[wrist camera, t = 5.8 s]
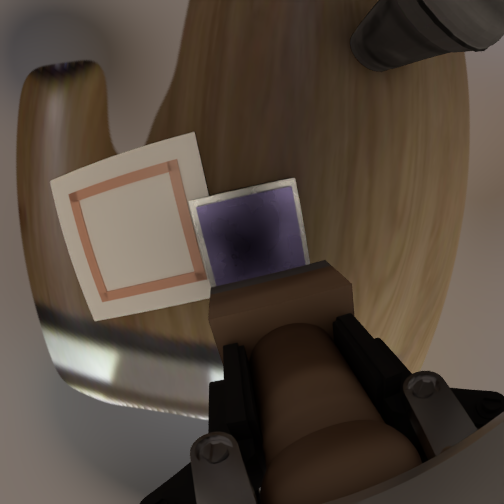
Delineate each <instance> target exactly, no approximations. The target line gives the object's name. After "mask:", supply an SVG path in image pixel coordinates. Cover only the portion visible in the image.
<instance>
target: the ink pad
mask: <svg viewBox="0 0 504 504" xmlns="http://www.w3.org/2000/svg"><path fill="white" fill-rule="evenodd" d="M189 206H190V210H191V214H192V218H193V222H194V226H195V230H196V234H197V237H198V241H199V245H200V249H201V253H202V256H203V260H204V264H205V268H206V271H207V275H208V278H209V282H210V286H211V287H215V286H220V285H224V284H229V283H233V282H237V281H242V280H246V279H250V278H254V277H259V276H263V275H267V274H271V273H275V272H279V271H283V270H288V269H292V268H296V267H300V266H304V265H308V264H310V260H309V254H308V247H307V241H306V235H305V229H304V224H303V218H302V212H301V207H300V201H299V196H298V191H297V185H296V180H295V178H288V179H283V180H278V181H273V182H268V183H263V184H258V185H253V186H249V187H244V188H240V189H235V190H231V191H226V192H222V193H218V194H214V195H209V196H206V197H202V198H198V199H194V200H190V201H189Z"/></svg>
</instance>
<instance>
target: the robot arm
mask: <svg viewBox="0 0 504 504" xmlns="http://www.w3.org/2000/svg"><path fill="white" fill-rule="evenodd" d="M333 336H334V343H335V344H336V346H337V348H338V349H339V351H340V352H341V354H342V355H343V357H344V358H345V360H346V362H347V363H348V365H349V366H350V368H351V369H352V371H353V373H354V374H355V376H356V377H357V379H358V380H359V382H360V384H361V385H362V387H363V388H364V390H365V391H366V393H367V395H368V396H369V398H370V399H371V401H372V403H373V404H374V406H375V407H376V409H377V411H378V412H379V414H380V415H381V417H382V419H383V420H384V422H385V423H386V424H387V425H389V426H391V427H393V428H395V429H396V430H398V431H399V432H401V433H402V434H403V435H405V436H406V437H407V438H408V439H409V440H410V442H411V443H412V444H413V445H414V447H415V448H416V450H417V451H418V453H419V455H420V458H421V461H422V464H421V465H419V466H417V467H415V468H413V469H411V470H409V471H407V472H404V473H402V474H400V475H398V476H396V477H394V478H391V479H389V480H387V481H385V482H382V483H380V484H377V485H375V486H372V487H370V488H367V489H365V490H362V491H359V492H357V493H354V494H351V495H348V496H345V497H342V498H339V499H336V500H333V501H329V502H326V503H322V504H504V396H503V395H502V394H500V393H498V392H493V391H481V390H469V389H458V388H449V386H448V385H447V383H446V382H445V381H444V379H443V378H442V377H441V376H440V375H439V374H437V373H435V372H430V371H420V372H416V373H413V374H412V373H411V372H410V371H409V370H408V369H407V368H406V367H405V365H404V364H403V363H402V362H401V361H400V360H399V359H398V357H397V356H396V355H395V354H394V353H393V352H392V351H391V350H390V349H389V347H388V346H387V345H386V344H385V343H384V342H383V341H382V340H381V339H380V338H375V339H374V338H373V337H372V336H371V335H370V334H369V333H368V331H367V330H366V329H365V328H364V327H363V326H362V325H361V323H360V322H359V321H358V320H357V319H356V318H355V317H354V316H353V314H352V313H348V314H345V315H341V316H338V317H337V318H336V321H334V322H333ZM223 366H224V380H220V381H215V382H210V384H209V433H208V434H205V435H203V436H201V437H199V438H198V439H197V440H196V441H195V442H194V443H193V445H192V447H191V449H190V459H191V462H190V463H189V464H188V465H186V466H185V467H184V468H183V469H181V470H180V471H179V472H178V473H177V474H175V475H174V476H173V477H171V478H170V479H169V480H168V481H166V482H165V483H164V484H162V485H161V486H160V487H158V488H157V489H156V490H155V491H153V492H152V493H150V494H149V495H148V496H146V497H145V498H144V499H143V500H142V501H141V503H140V504H260V489H259V488H260V487H261V485H262V481H263V478H264V474H265V472H266V470H267V469H266V464H265V458H264V452H263V447H262V442H263V441H262V435H261V430H260V424H259V418H258V413H257V407H256V401H255V395H254V389H253V383H252V377H251V371H250V365H249V362H248V358H247V354H246V351H245V347H244V345H241V346H238V343H233V344H228V345H224V346H223Z"/></svg>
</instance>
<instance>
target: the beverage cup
mask: <svg viewBox="0 0 504 504" xmlns="http://www.w3.org/2000/svg"><path fill="white" fill-rule="evenodd" d="M503 35H504V0H379V1H378V2H377V3H376V4H375V6H374V7H373V8H372V9H371V11H370V12H369V13H368V14H367V16H366V17H365V18H364V19H363V21H362V22H361V23H360V24H359V26H358V27H357V29H356V31H355V32H354V33H353V35H352V37H351V41H350V45H351V50H352V52H353V54H354V56H355V57H356V58H357V60H358V61H359V62H360V63H361V64H362V65H364V66H365V67H367V68H369V69H371V70H374V71H380V72H381V71H385V70H388V69H393V68H397V67H400V66H404V65H407V64H410V63H413V62H417V61H420V60H423V59H427V58H431V57H434V56H438V55H442V54H446V53H450V52H465V51H475V52H477V51H484V50H486V49H487V48H488V47H489V46H491V45H493V44H495V43H496V42H497V41H499V39H500V38H501V37H502V36H503Z"/></svg>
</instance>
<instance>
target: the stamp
mask: <svg viewBox="0 0 504 504" xmlns="http://www.w3.org/2000/svg"><path fill="white" fill-rule="evenodd" d="M348 313H352V314H353V316H354V305H353V292H352V284H351V283H350V282H349V281H348V280H347V279H346V278H345V277H344V276H342V275H341V274H340V273H339V272H338V271H337V270H336V269H334V268H333V267H332V266H331V265H330V264H329V263H328V262H327V261H325V260H324V261H320V262H316V263H312V264H308V265H304V266H300V267H296V268H292V269H288V270H283V271H279V272H275V273H271V274H267V275H263V276H259V277H254V278H250V279H246V280H242V281H237V282H233V283H229V284H224V285H220V286H215V287H211V290H210V304H209V319H208V320H209V323H210V326H211V329H212V333H213V336H214V339H215V342H216V345H217V348H218V351H219V354H220V357H221V360H222V363H223V346H224V345H228V344H233V343H238V346H241V345H244V347H245V351H246V354H247V358H248V362H249V365H250V371H251V377H252V383H253V389H254V395H255V401H256V407H257V413H258V418H259V424H260V430H261V435H262V441H263V442H262V447H263V452H264V458H265V464H266V469H267V470H266V472H265V474H264V478H263V481H262V485H261V490H260V504H322V503H326V502H329V501H333V500H336V499H339V498H342V497H345V496H348V495H351V494H354V493H357V492H359V491H362V490H365V489H367V488H370V487H372V486H375V485H377V484H380V483H382V482H385V481H387V480H389V479H391V478H394V477H396V476H398V475H400V474H402V473H404V472H407V471H409V470H411V469H413V468H415V467H417V466H419V465H421V464H422V461H421V458H420V455H419V453H418V451H417V450H416V448H415V447H414V445H413V444H412V443H411V442H410V440H409V439H408V438H407V437H406V436H405V435H403V434H402V433H401V432H399V431H398V430H396V429H395V428H393V427H391V426H389V425H387V424H386V423H385V422H384V420H383V419H382V417H381V415H380V414H379V412H378V411H377V409H376V407H375V406H374V404H373V403H372V401H371V399H370V398H369V396H368V395H367V393H366V391H365V390H364V388H363V387H362V385H361V384H360V382H359V380H358V379H357V377H356V376H355V374H354V373H353V371H352V369H351V368H350V366H349V365H348V363H347V362H346V360H345V358H344V357H343V355H342V354H341V352H340V351H339V349H338V348H337V346H336V344H335V343H334V336H333V322H334V321H336V318H337V317H338V316H341V315H345V314H348Z"/></svg>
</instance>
